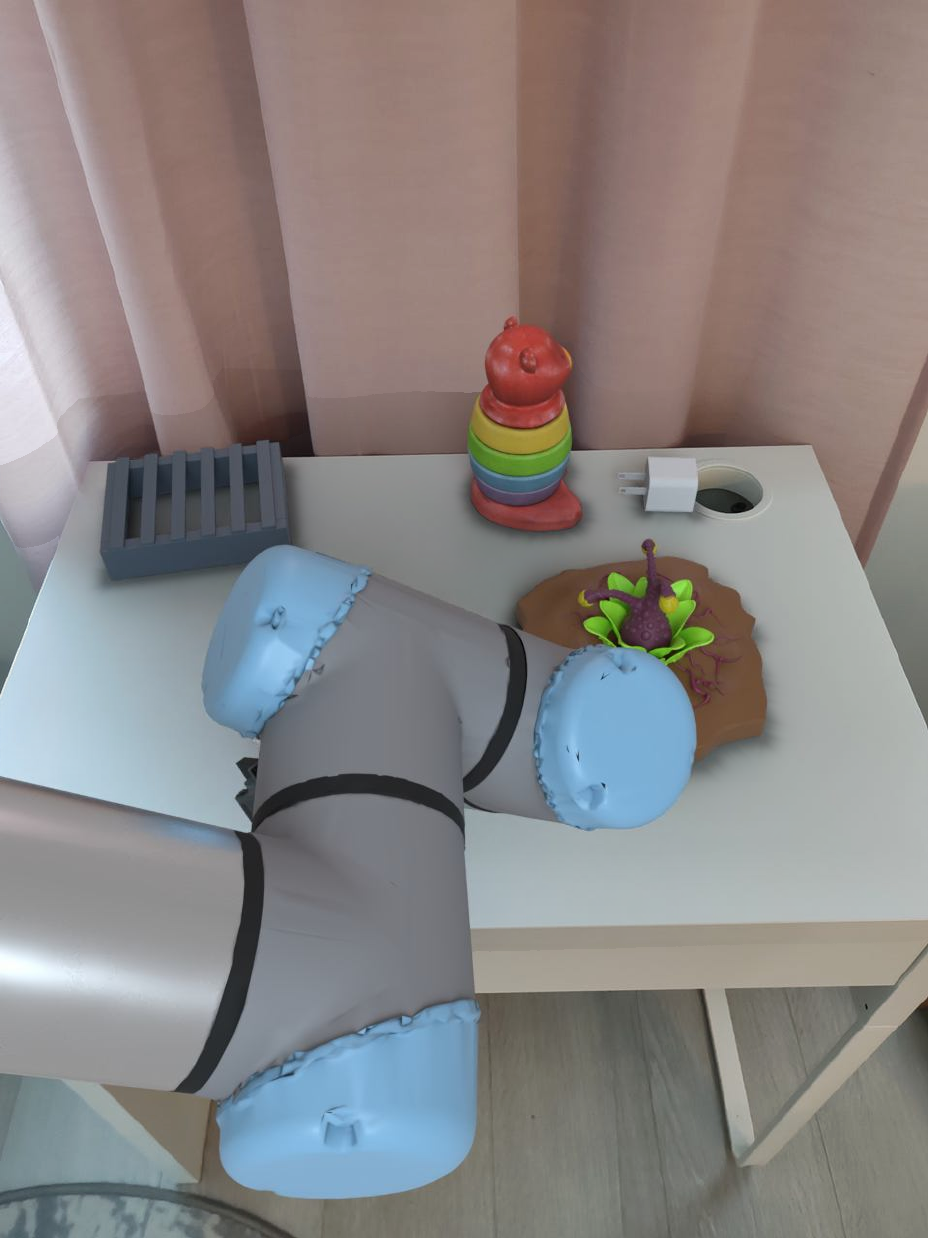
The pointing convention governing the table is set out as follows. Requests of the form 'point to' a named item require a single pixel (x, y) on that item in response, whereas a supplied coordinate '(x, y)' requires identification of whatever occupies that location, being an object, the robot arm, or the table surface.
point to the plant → (663, 633)
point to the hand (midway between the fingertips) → (306, 732)
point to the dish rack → (177, 478)
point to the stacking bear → (523, 433)
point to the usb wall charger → (666, 484)
